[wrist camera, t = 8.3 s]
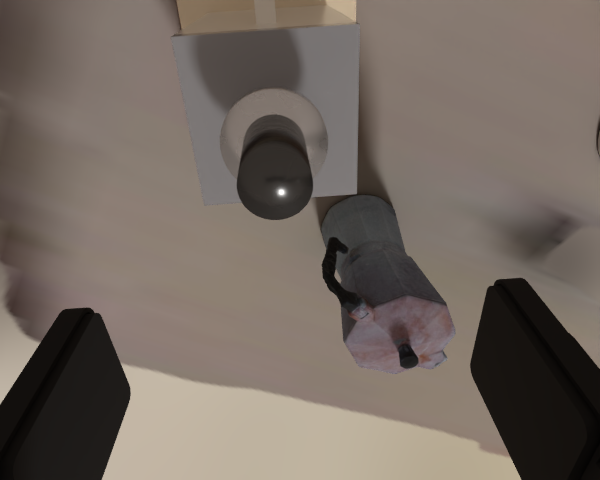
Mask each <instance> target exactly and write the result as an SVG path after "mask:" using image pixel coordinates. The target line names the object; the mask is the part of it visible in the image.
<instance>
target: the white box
mask: <svg viewBox="0 0 600 480" xmlns="http://www.w3.org/2000/svg"><path fill="white" fill-rule="evenodd" d="M176 1H177V6H178V12H179V17H180V23H181V28H182V30H181V31H179V32H178V33H176V34H174V35H173V36H171V41H172V46H173V51H174V56H175V61H176V66H177V71H178V76H179V81H180V86H181V91H182V96H183V101H184V106H185V111H186V116H187V121H188V126H189V131H190V136H191V141H192V146H193V151H194V156H195V162H196V167H197V172H198V177H199V182H200V187H201V192H202V197H203V202H204V206H205V205H218V204H231V203H242V202H241V200H240V198H239V195H238V192H237V179H236V178H235V177H234V176H233V175H232V174H231V173H230V171H229V170H228V168H227V167H226V165H225V163H224V160H223V158H222V154H221V150H220V133H221V128H222V125H223V122H224V119H225V116H226V114H227V112H228V111H229V109H230V108H231V106H232V105H233V104H234V103H235V102H236V100H238V99H239V98H240V97H241V96H242V95H244V94H246V93H247V92H249V91H251V90H254V89H256V88H260V87H265V86H282V87H287V88H290V89H293V90H295V91H298V92H299V93H301V94H303V95H304V96H306V97H307V98H308V99H309V100H310V101H311V102H312V103H313V104H314V105H315V106H316V107H317V109H318V110H319V112H320V114H321V116H322V118H323V121H324V123H325V126H326V129H327V134H328V151H327V156H326V159H325V162H324V164H323V166H322V168H321V169H320V171H319V172H318V174H317V175H316V176H315V177H314V178H313V192H312V195H311V197H324V196H337V195H350V194H357V160H358V104H359V48H360V24H359V23H357V22H356V0H176Z"/></svg>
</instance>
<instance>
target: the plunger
mask: <svg viewBox="0 0 600 480" xmlns="http://www.w3.org/2000/svg"><path fill="white" fill-rule="evenodd" d="M220 150H221V154H222V158H223V160H224V163H225V165H226V167H227V168H228V170H229V171H230V173H231V174H232V175H233V176H234V177H235V178H236V179H237V192H238V195H239V198H240V200H241V202H242V203H243V205H244V206H245V207H246V208H247V209H248V210H249V211H250V212H252V213H253V214H255V215H257V216H259V217H261V218H265V219H270V220H280V219H286V218H289V217H291V216H294V215H295V214H297V213H299V212H300V211H301V210H302V209H303V208H304V207H305V206H306V205H307V203H308V202H309V200H310V198H311V195H312V192H313V178H314V177H315V176H316V175H317V174H318V172H319V171H320V169H321V168H322V166H323V164H324V162H325V159H326V156H327V151H328V134H327V129H326V126H325V123H324V121H323V118H322V116H321V114H320V112H319V110H318V109H317V107H316V106H315V105H314V104H313V103H312V102H311V101H310V100H309V99H308V98H307V97H306V96H304V95H303V94H301V93H299V92H298V91H295V90H293V89H290V88H287V87H282V86H265V87H260V88H256V89H254V90H251V91H249V92H247V93H246V94H244V95H242V96H241V97H240V98H239V99H238V100H236V102H235V103H234V104H233V105H232V106H231V108H230V109H229V111H228V112H227V114H226V116H225V119H224V122H223V125H222V128H221V133H220Z"/></svg>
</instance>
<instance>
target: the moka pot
mask: <svg viewBox="0 0 600 480" xmlns="http://www.w3.org/2000/svg"><path fill="white" fill-rule="evenodd" d="M321 231H322V235H323V239H324V243H325V246H326V249H327V250H326V254H325V258H324V260H323V264H322V267H323V268H322V270H323V271H322V273H323V279H324V280H325V283H326V284H327V287H328V288H329V290H330V291H331V292H333V293H334V294H335V295H337V297H338V299H339V301H340V304H341V316H342V329H343V341H344V343H345V345H346V346H347V348H348V349H349V351H350V353H351V354H352V356H353V358H354V359H355V361H356V363H357V364H358V366H359V367H362V368H367V369H373V370H378V371H383V372H387V373H392V374H397V373H400V372H403V371H406V370H409V369H412V368H415V367H421V368H426V369H433V368H434V367H437V366H439V365H440V364H441V363H442V362H444V361H446V360H447V359H448V358H447V356H446V355H445V354H444V352H443V349H444V348H445V346H446V345H447V344H448V343H449V342H450V340H451V339H452V338H453V336H454V335H455V328H454V325H453V322H452V319H451V316H450V313H449V311H448V308H447V304H446V302H445V301H444V300H443V298H442V297H441V296H440V294H439V293H438V292H437V291H436V289H435V288H434V287H433V286H432V284H431V283H430V282H429V280H428V279H427V278H426V276H425V275H424V274H423V272H422V271H421V270H420V268H419V267H418V266H417V264H416V263H415V262H414V260H413V259H412V258H411V257H410V256H407V254H406V252H405V248H404V244H403V241H402V237H401V233H400V229H399V226H398V222H397V218H396V214H395V211H394V209H393V208H392V207H391V206H390V205H389V204H388V203H386V202H385V201H384V200H383V199H381V198H379V197H375V196H371V195H357V196H352V197H349V198H346V199H344V200H343V201H341V202H339V203H337V204H336V205H334V206H332V207H331V208H330V209H329V211H328V213H327V215H326V216H325V218H324V221H323V224H322V227H321ZM336 269H337V271H338V273H339V275H340V278H341V280H342V281H341V283H339V282H338V281H337V280H336V278H335V277H334V274H335V270H336Z"/></svg>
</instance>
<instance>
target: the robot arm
mask: <svg viewBox="0 0 600 480" xmlns="http://www.w3.org/2000/svg"><path fill="white" fill-rule="evenodd" d="M598 152H599V155H600V132H599V138H598ZM470 368H471V373H472V377H473V379H474V381H475V383H476V385H477V387H478V389H479V392H480V394H481V396H482V398H483V400H484V402H485V404H486V406H487V408H488V410H489V413H490V415H491V417H492V419H493V421H494V423H495V425H496V427H497V429H498V431H499V433H500V436H501V438H502V440H503V442H504V444H505V446H506V448H507V450H508V452H509V454H510V457H511V459H512V461H513V463H514V465H515V467H516V469H517V471H518V473H519V475H520V477H521V480H600V369H599V368H598V367H597V365H596V364H595V363H594V362H593V360H592V359H591V358H590V357H589V355H588V354H587V353H586V352H585V350H584V349H583V348H582V347H581V346H580V344H579V343H578V342H577V341H576V339H575V338H574V337H573V336H572V335H571V334H570V333H568V332H567V331H566V329H565V328H564V327H563V326H562V324H561V323H560V322H559V321H558V320H557V318H556V317H555V316H554V315H553V313H552V312H551V311H550V310H549V308H548V307H547V306H546V305H545V303H544V302H543V301H542V300H541V298H540V297H539V296H538V295H537V293H536V292H535V291H534V290H533V288H532V287H531V286H530V285H529V283H528V282H527V281H526V280H525V279H523V278H513V279H499V280H496V282H495V283H494V286H489V287H488V289H487V292H486V297H485V301H484V306H483V310H482V314H481V319H480V323H479V327H478V332H477V336H476V341H475V345H474V349H473V354H472V358H471V363H470ZM129 400H130V386H129V383H128V381H127V378H126V376H125V373H124V371H123V368H122V366H121V363H120V361H119V359H118V356H117V354H116V351H115V349H114V346H113V344H112V341H111V339H110V336H109V334H108V331H107V329H106V326H105V324H104V322H103V319H102V317H101V315H100V314H99V313H94V311H93V310H92V309H91V308H75V309H65V310H62V311H61V313H60V314H59V315H58V317H57V318H56V320H55V321H54V323H53V324H52V326H51V328H50V329H49V331H48V332H47V334H46V335H45V337H44V338H43V340H42V341H41V343H40V344H39V346H38V348H37V349H36V351H35V352H34V354H33V355H32V357H31V358H30V360H29V361H28V363H27V365H26V366H25V368H24V369H23V371H22V372H21V374H20V375H19V377H18V378H17V380H16V381H15V383H14V384H13V386H12V388H11V389H10V391H9V392H8V394H7V395H6V397H5V398H4V400H3V401H2V403H1V404H0V480H102V477H103V474H104V472H105V469H106V466H107V463H108V460H109V457H110V455H111V452H112V449H113V446H114V443H115V440H116V438H117V435H118V432H119V429H120V426H121V423H122V420H123V417H124V415H125V412H126V409H127V407H128V403H129Z"/></svg>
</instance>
